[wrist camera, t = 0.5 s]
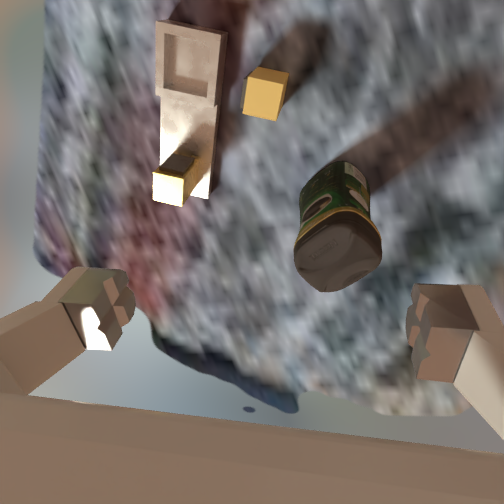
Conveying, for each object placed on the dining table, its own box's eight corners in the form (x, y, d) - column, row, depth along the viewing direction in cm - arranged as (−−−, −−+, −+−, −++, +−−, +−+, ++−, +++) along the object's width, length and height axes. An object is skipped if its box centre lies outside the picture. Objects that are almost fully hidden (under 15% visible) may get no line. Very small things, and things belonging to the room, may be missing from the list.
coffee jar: (326, 227, 57) (325, 310, 42) (291, 193, 54) (277, 268, 39) (379, 188, 52) (399, 267, 37) (343, 149, 49) (349, 216, 34)
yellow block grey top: (254, 65, 45) (243, 75, 40) (289, 73, 45) (283, 84, 39) (249, 98, 48) (238, 112, 42) (282, 106, 47) (276, 121, 42)
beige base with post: (167, 19, 44) (136, 23, 37) (228, 32, 44) (208, 39, 36) (164, 182, 57) (140, 209, 50) (211, 193, 57) (193, 222, 49)
